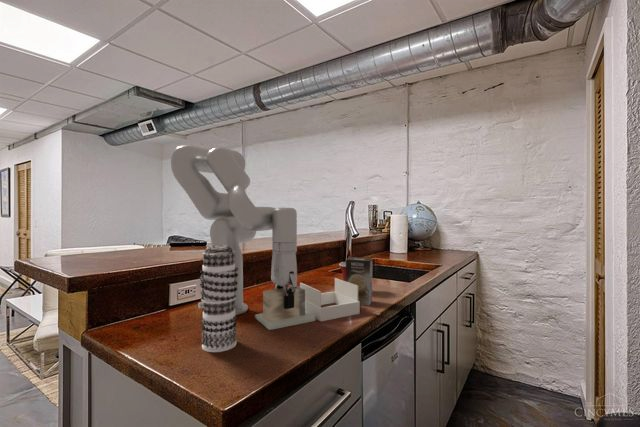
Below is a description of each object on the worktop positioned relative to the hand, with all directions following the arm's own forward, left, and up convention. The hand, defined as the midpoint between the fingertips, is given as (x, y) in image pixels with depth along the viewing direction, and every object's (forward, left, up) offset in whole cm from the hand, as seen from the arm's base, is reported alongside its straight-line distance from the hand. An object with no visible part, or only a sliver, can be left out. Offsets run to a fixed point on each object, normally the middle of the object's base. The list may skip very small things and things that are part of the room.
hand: (284, 304), depth 101 cm
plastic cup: (+38, +17, -5) cm, 42 cm away
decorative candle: (-22, -9, -5) cm, 24 cm away
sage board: (0, 0, -4) cm, 4 cm away
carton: (+16, 0, -5) cm, 17 cm away
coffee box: (+31, +3, -5) cm, 31 cm away
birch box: (0, 0, -4) cm, 4 cm away
